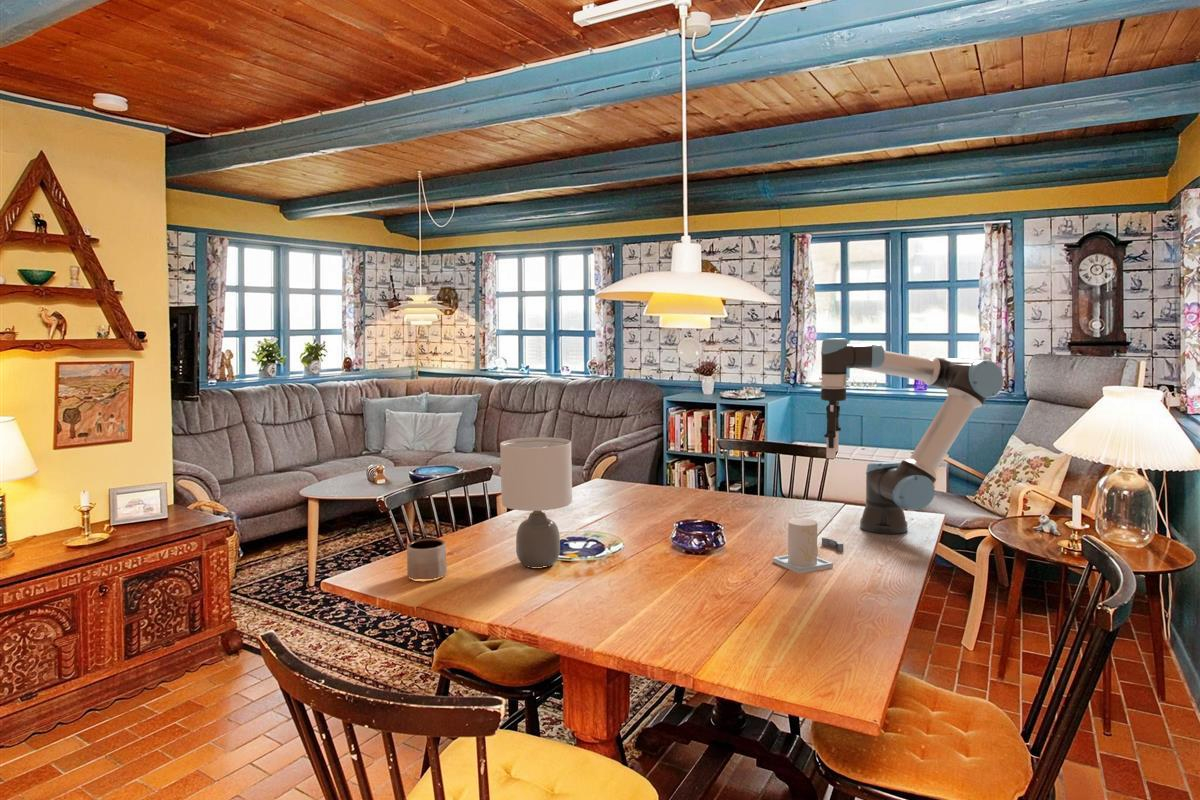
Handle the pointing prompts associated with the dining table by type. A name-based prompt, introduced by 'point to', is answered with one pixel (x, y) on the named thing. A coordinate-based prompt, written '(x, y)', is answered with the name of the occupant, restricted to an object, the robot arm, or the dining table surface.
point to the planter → (426, 559)
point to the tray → (820, 565)
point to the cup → (802, 542)
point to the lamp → (536, 493)
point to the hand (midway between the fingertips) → (832, 454)
